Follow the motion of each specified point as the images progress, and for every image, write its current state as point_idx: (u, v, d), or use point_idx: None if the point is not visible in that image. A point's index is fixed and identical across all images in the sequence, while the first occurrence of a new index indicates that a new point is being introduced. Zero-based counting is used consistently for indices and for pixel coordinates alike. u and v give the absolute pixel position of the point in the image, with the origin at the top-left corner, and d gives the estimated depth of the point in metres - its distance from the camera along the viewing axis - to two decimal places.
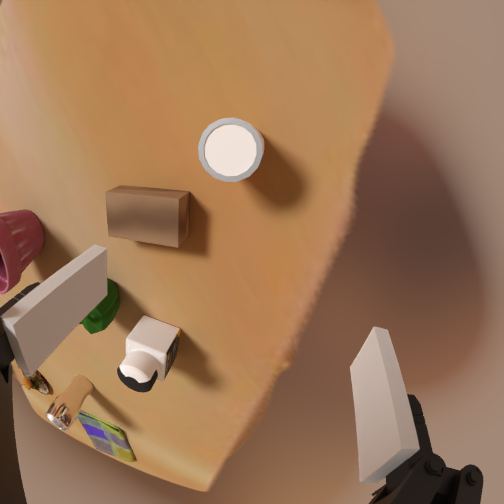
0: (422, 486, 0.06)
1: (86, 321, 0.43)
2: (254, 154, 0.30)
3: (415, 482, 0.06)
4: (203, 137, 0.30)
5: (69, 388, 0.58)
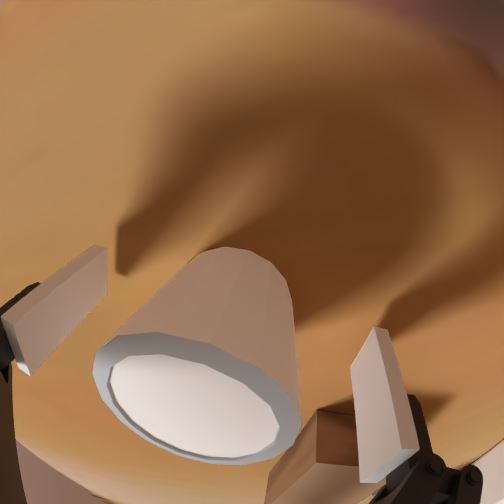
0: (422, 486, 0.06)
1: None
2: (204, 368, 0.07)
3: (415, 482, 0.06)
4: (155, 443, 0.09)
5: None
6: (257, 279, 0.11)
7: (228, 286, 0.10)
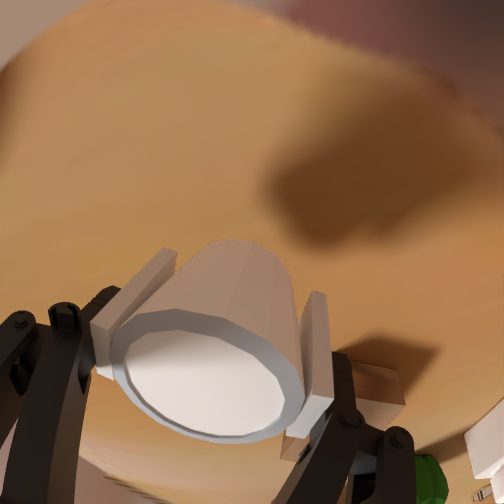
0: (340, 441, 0.07)
1: None
2: (218, 341, 0.08)
3: (331, 438, 0.07)
4: (165, 424, 0.10)
5: None
6: (262, 267, 0.12)
7: (236, 271, 0.11)
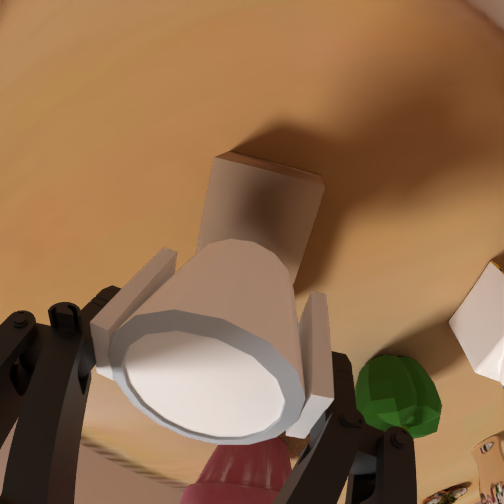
0: (340, 441, 0.07)
1: (413, 432, 0.19)
2: (217, 342, 0.08)
3: (331, 438, 0.07)
4: (165, 425, 0.10)
5: (481, 471, 0.27)
6: (262, 267, 0.12)
7: (236, 272, 0.11)
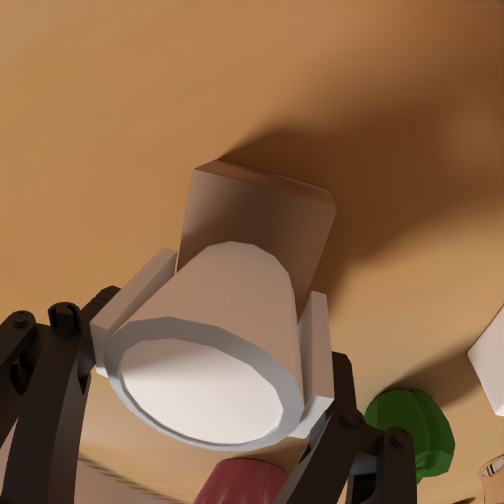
0: (341, 441, 0.07)
1: (422, 474, 0.15)
2: (213, 350, 0.08)
3: (331, 438, 0.07)
4: (162, 430, 0.10)
5: (487, 492, 0.23)
6: (261, 271, 0.12)
7: (234, 276, 0.10)
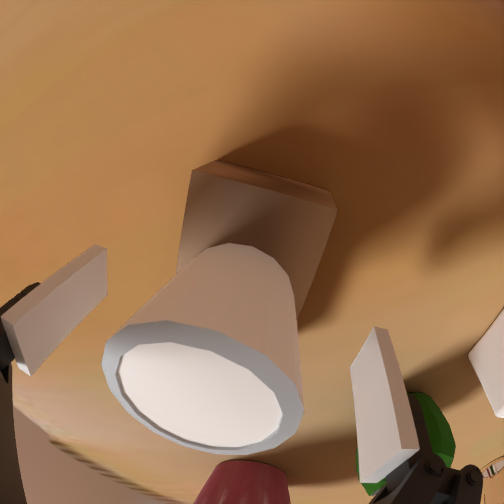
0: (422, 486, 0.06)
1: None
2: (212, 355, 0.08)
3: (415, 482, 0.06)
4: (161, 434, 0.10)
5: (487, 493, 0.23)
6: (261, 273, 0.12)
7: (233, 279, 0.10)
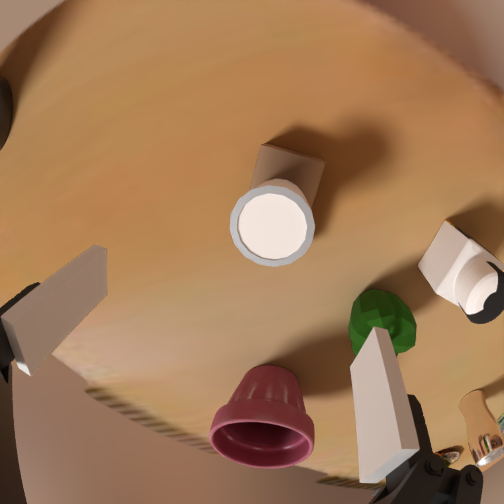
0: (422, 486, 0.06)
1: (395, 343, 0.31)
2: (283, 197, 0.23)
3: (415, 482, 0.06)
4: (249, 255, 0.25)
5: (467, 420, 0.38)
6: (293, 186, 0.27)
7: (284, 183, 0.26)
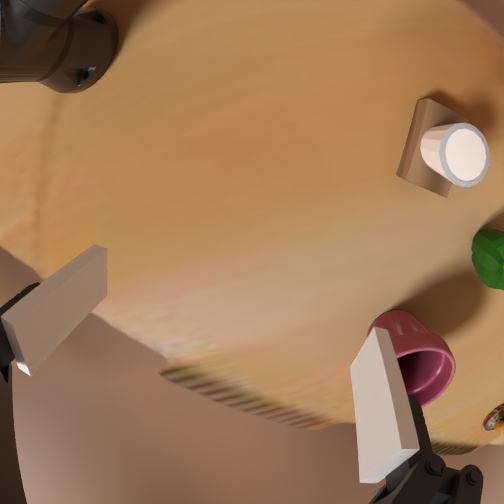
0: (422, 486, 0.06)
1: None
2: (473, 133, 0.23)
3: (415, 482, 0.06)
4: (450, 176, 0.25)
5: None
6: None
7: None
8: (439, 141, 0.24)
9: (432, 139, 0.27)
